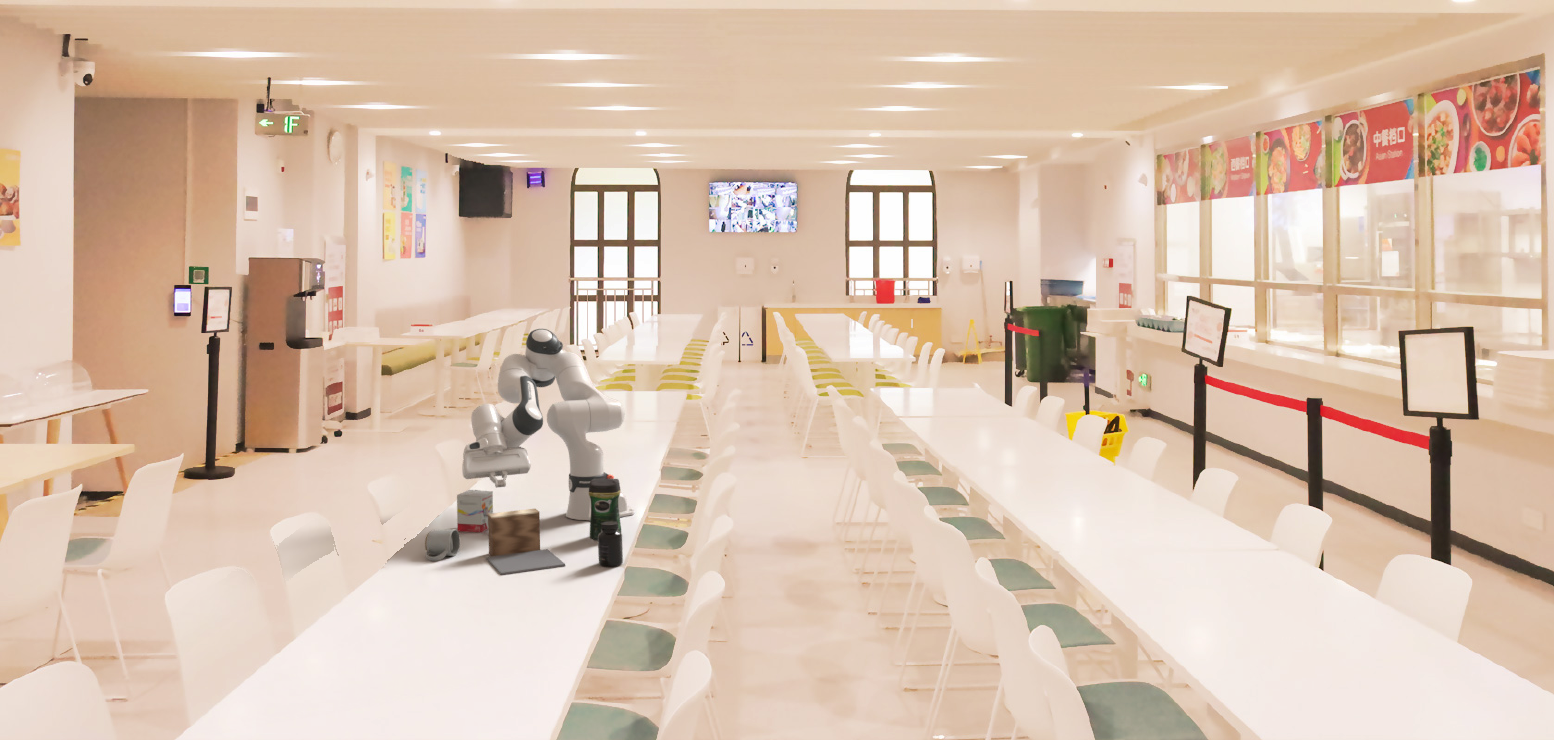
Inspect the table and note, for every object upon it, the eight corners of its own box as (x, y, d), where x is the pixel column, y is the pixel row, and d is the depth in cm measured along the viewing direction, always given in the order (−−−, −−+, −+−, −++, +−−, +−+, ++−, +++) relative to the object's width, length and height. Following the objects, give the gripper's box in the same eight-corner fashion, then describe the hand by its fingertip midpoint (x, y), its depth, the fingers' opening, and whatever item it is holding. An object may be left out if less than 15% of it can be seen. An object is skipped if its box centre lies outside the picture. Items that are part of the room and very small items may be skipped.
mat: (547, 550, 320) (547, 549, 320) (565, 566, 305) (565, 564, 305) (486, 559, 312) (486, 557, 311) (501, 575, 297) (501, 572, 297)
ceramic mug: (434, 550, 320) (433, 525, 319) (461, 551, 319) (460, 526, 318) (418, 561, 309) (417, 535, 308) (446, 562, 308) (445, 536, 307)
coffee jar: (623, 534, 338) (622, 476, 336) (618, 541, 331) (617, 481, 328) (592, 534, 339) (591, 475, 337) (587, 541, 331) (586, 481, 329)
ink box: (481, 533, 339) (480, 496, 338) (456, 531, 341) (455, 494, 340) (494, 526, 348) (493, 490, 346) (469, 524, 349) (468, 488, 348)
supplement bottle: (610, 559, 312) (609, 518, 311) (627, 563, 308) (627, 522, 307) (593, 565, 306) (592, 523, 305) (611, 569, 303) (610, 527, 301)
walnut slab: (536, 547, 324) (535, 508, 322) (540, 551, 320) (539, 511, 318) (488, 553, 317) (487, 513, 316) (492, 557, 313) (491, 517, 312)
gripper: (524, 452, 342) (533, 488, 335) (457, 458, 333) (465, 495, 325) (527, 440, 338) (536, 476, 330) (460, 446, 328) (468, 483, 321)
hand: (500, 486), depth 328 cm, fingers closed
